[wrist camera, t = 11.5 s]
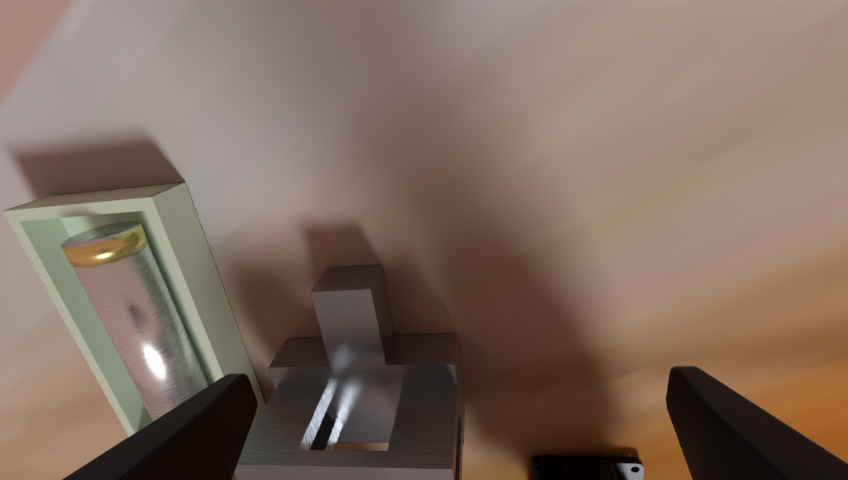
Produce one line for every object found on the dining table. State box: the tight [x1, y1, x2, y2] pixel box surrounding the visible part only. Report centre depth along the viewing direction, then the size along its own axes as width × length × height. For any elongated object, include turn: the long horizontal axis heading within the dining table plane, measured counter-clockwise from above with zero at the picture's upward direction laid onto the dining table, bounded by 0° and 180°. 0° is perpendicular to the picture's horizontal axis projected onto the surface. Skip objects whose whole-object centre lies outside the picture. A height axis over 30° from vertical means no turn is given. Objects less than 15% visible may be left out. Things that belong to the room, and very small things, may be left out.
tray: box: [3, 182, 266, 437], centre depth 24 cm, size 16×8×2 cm, turn 7°
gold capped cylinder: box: [60, 221, 209, 421], centre depth 23 cm, size 12×3×3 cm, turn 7°
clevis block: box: [234, 265, 465, 480], centre depth 21 cm, size 10×10×7 cm
